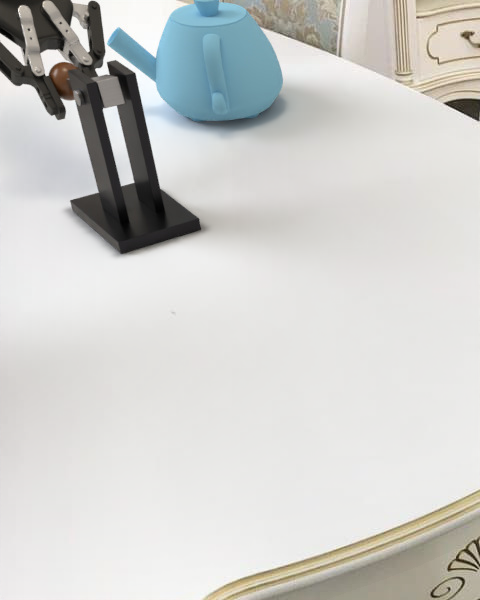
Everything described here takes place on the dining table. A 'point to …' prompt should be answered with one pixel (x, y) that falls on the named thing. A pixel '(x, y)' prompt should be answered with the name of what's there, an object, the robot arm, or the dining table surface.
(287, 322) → the dining table surface
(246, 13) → the teapot
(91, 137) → the bracket
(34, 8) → the robot arm
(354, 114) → the dining table surface
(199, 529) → the dining table surface
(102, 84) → the lever
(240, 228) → the dining table surface
